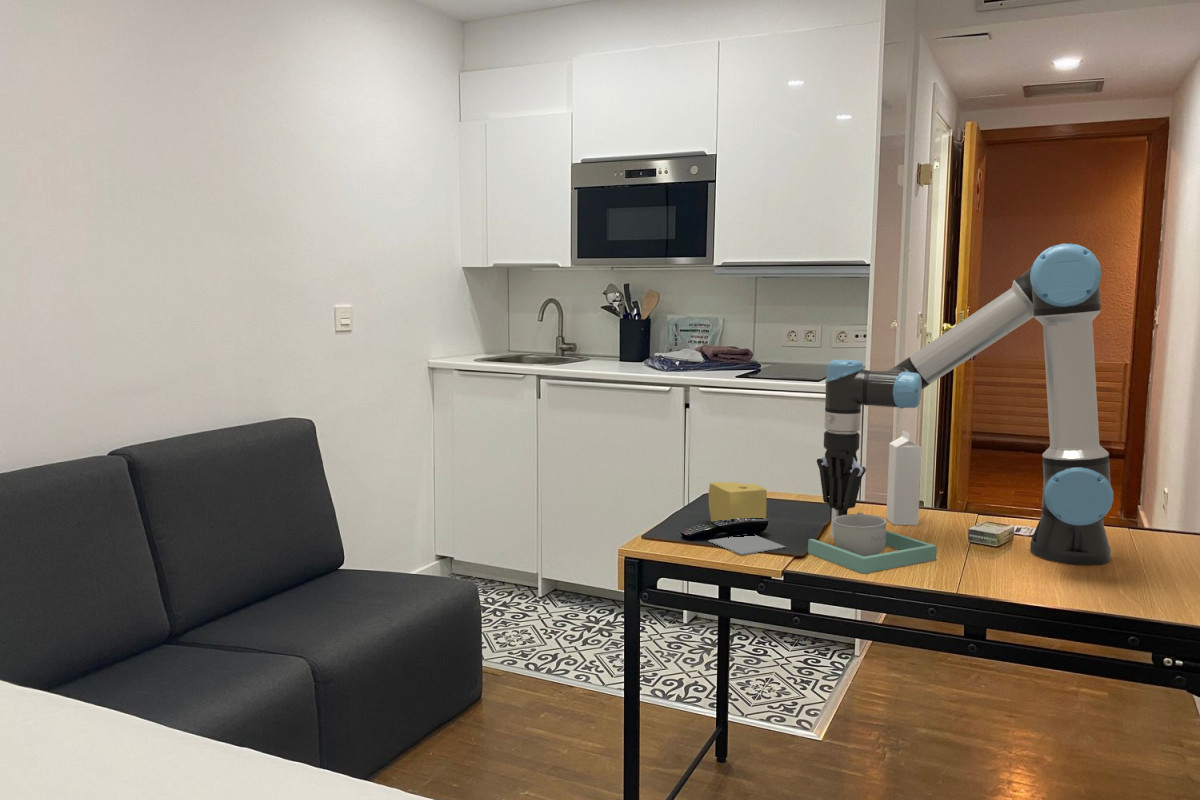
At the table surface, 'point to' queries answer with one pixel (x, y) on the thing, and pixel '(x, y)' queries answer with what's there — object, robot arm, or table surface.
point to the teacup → (860, 533)
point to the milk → (903, 481)
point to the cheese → (736, 501)
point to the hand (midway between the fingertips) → (837, 537)
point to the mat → (746, 544)
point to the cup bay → (906, 554)
